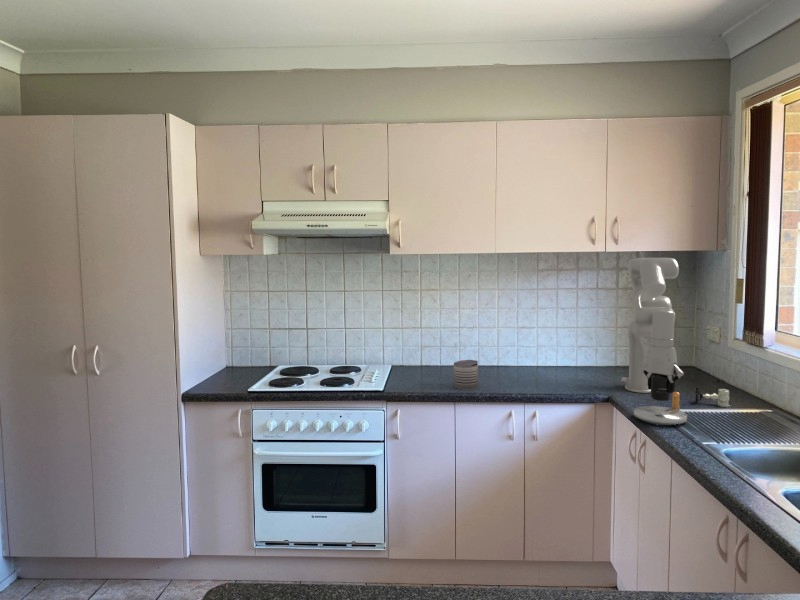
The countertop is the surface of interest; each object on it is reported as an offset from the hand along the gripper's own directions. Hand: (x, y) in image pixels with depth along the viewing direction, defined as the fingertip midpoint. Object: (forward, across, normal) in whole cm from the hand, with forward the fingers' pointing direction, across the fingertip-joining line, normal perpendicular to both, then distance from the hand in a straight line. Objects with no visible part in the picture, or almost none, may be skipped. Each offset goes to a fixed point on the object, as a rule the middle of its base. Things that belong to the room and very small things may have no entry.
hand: (660, 390), depth 208 cm
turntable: (+10, 0, +2) cm, 10 cm away
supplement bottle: (+3, 0, 0) cm, 3 cm away
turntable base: (+11, 0, 0) cm, 11 cm away
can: (+11, -82, -21) cm, 85 cm away
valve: (+12, +3, +36) cm, 37 cm away
